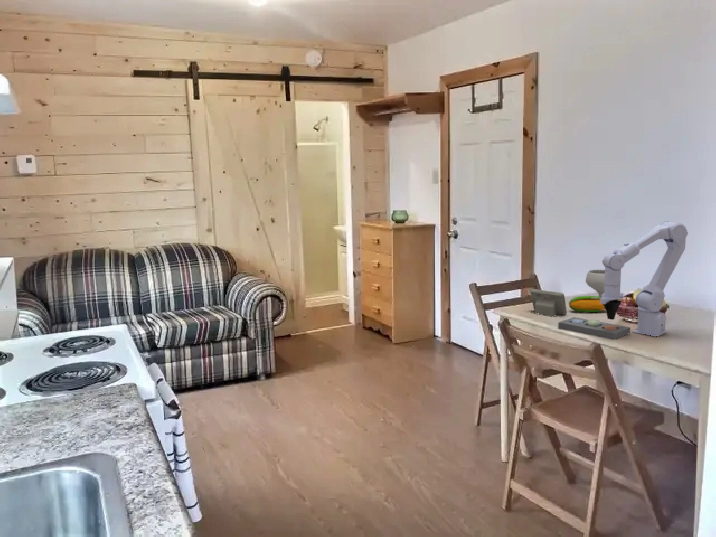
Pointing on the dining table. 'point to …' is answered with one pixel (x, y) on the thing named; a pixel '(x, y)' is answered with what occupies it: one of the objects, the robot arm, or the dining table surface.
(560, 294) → the digital clock
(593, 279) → the chalice
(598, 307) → the corn
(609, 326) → the button terracotta
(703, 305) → the dining table surface
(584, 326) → the button panel
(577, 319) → the button slate
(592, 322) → the button sage
